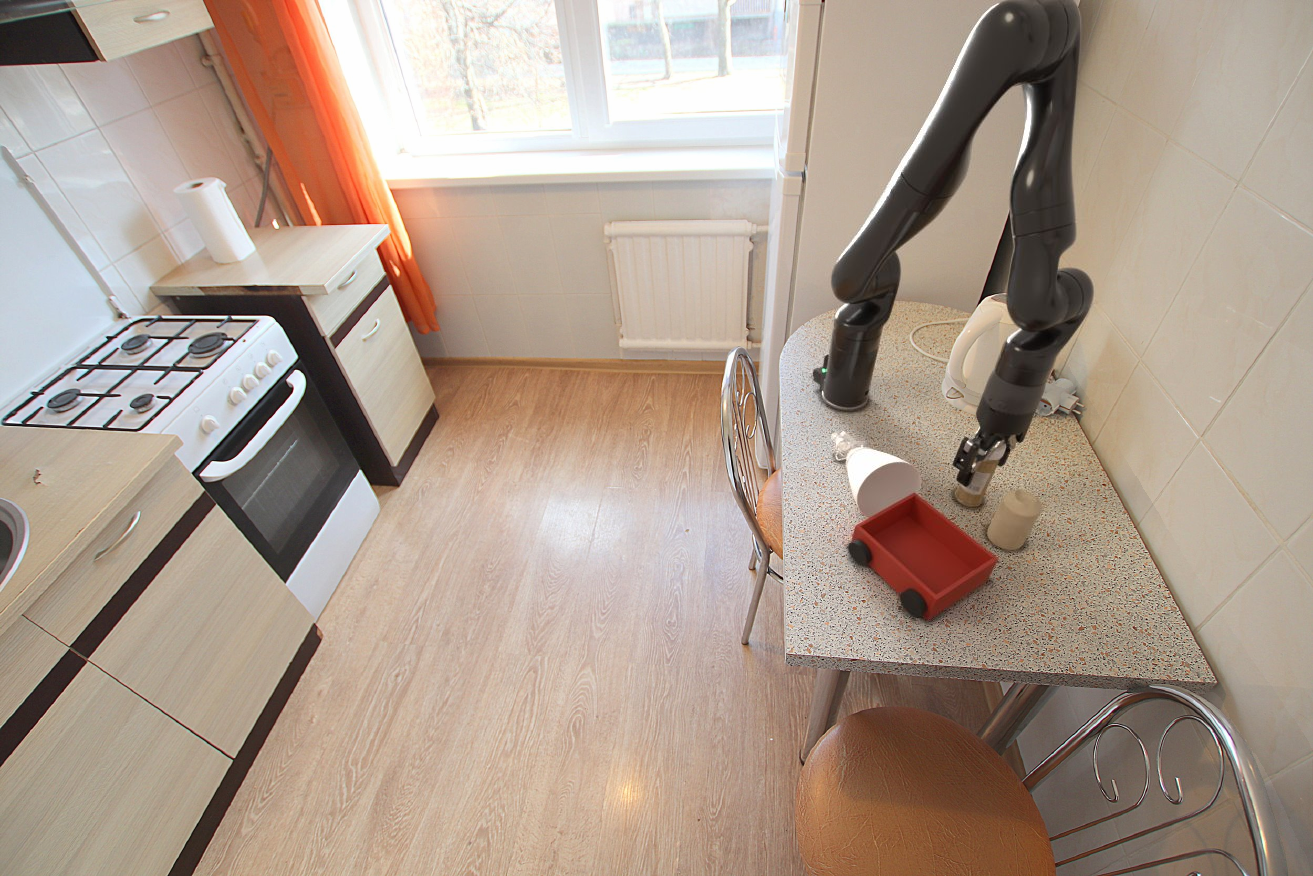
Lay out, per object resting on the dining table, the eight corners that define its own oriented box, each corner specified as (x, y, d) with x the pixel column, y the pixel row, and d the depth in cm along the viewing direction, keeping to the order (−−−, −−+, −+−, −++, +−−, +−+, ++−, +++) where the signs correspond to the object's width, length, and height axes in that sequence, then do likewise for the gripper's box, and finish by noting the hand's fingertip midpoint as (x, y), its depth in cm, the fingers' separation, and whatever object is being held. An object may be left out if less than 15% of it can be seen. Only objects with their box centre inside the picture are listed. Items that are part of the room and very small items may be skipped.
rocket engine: (840, 403, 114) (890, 450, 98) (881, 430, 119) (934, 479, 103) (801, 450, 117) (843, 503, 102) (842, 474, 122) (888, 529, 107)
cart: (849, 547, 102) (855, 525, 98) (907, 514, 106) (914, 492, 102) (927, 621, 91) (936, 599, 87) (987, 580, 95) (999, 558, 92)
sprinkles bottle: (987, 500, 107) (1013, 444, 98) (970, 512, 106) (995, 456, 97) (964, 485, 110) (987, 429, 101) (948, 496, 108) (969, 440, 99)
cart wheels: (846, 553, 101) (850, 537, 98) (915, 513, 106) (920, 497, 103) (917, 622, 91) (924, 607, 88) (989, 574, 96) (998, 558, 94)
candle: (1028, 535, 101) (1051, 494, 95) (1016, 556, 98) (1039, 515, 92) (993, 519, 104) (1013, 478, 97) (981, 539, 101) (1000, 498, 95)
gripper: (1019, 369, 97) (989, 444, 108) (957, 401, 93) (932, 476, 103) (1064, 393, 92) (1027, 469, 103) (1000, 427, 88) (969, 504, 98)
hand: (979, 473), depth 103 cm, fingers open, 8 cm apart
